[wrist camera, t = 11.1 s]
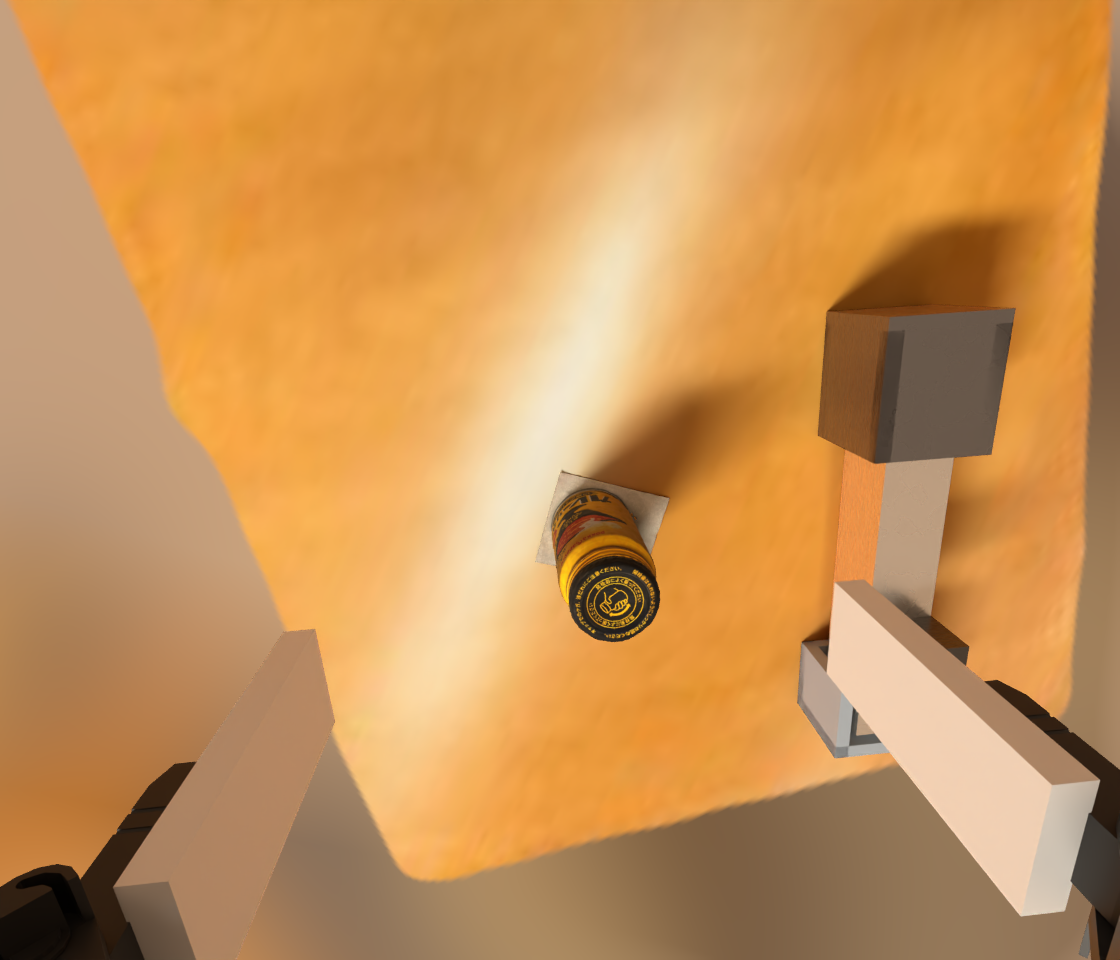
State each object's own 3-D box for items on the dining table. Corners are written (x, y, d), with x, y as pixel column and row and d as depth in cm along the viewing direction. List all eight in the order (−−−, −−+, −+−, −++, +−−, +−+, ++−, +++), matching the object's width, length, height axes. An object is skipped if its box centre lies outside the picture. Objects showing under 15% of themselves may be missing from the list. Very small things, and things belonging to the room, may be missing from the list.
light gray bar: (846, 434, 43) (925, 470, 35) (907, 430, 44) (1000, 464, 35) (823, 692, 50) (885, 774, 42) (876, 687, 50) (948, 767, 42)
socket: (801, 642, 50) (841, 691, 44) (892, 633, 50) (944, 681, 44) (797, 702, 52) (834, 758, 46) (884, 693, 52) (933, 747, 46)
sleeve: (826, 311, 42) (889, 317, 35) (932, 304, 42) (1015, 308, 35) (817, 435, 45) (874, 463, 37) (916, 427, 45) (991, 454, 38)
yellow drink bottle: (559, 471, 44) (575, 537, 33) (669, 497, 45) (720, 569, 34) (534, 560, 46) (541, 651, 35) (640, 583, 47) (679, 677, 36)
